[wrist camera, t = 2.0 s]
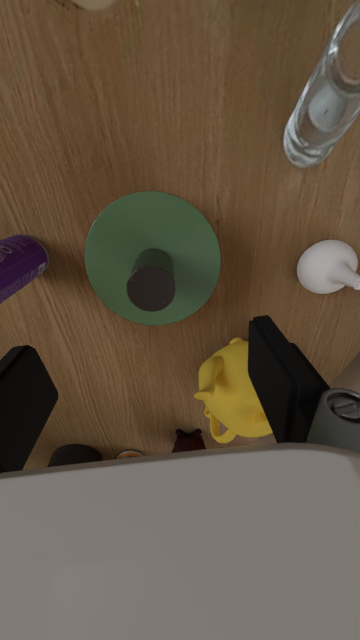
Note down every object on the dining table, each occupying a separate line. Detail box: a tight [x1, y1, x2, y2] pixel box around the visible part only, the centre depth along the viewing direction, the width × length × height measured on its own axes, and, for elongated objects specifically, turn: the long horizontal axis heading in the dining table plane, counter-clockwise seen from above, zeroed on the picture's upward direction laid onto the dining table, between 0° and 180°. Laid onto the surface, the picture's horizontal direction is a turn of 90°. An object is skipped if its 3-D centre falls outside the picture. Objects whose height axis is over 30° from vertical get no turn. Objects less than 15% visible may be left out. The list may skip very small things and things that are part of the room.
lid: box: [84, 191, 221, 325], centre depth 20 cm, size 13×13×7 cm
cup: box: [47, 444, 103, 467], centre depth 43 cm, size 10×10×9 cm
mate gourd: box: [171, 429, 206, 453], centre depth 39 cm, size 8×8×15 cm
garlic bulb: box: [297, 240, 360, 294], centre depth 26 cm, size 6×6×8 cm
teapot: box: [194, 337, 273, 443], centre depth 33 cm, size 20×15×12 cm
